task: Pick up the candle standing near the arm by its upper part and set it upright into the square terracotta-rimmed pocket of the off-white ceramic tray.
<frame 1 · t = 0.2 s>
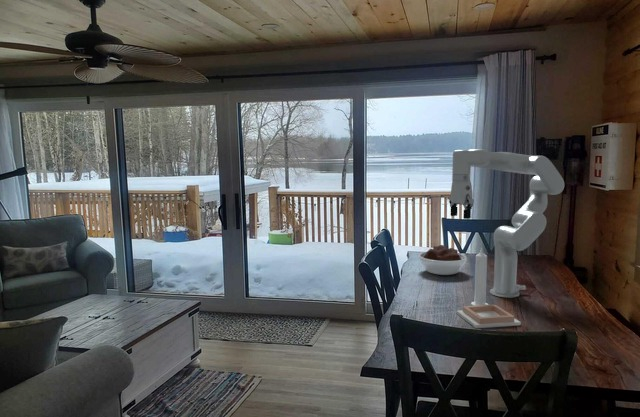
hand: (460, 217, 199), 37 cm above the table, tool pointing down, fingers open, 9 cm apart
candle: (479, 305, 193), on the table
white bowl with food: (441, 273, 246), on the table
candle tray: (487, 319, 177), on the table
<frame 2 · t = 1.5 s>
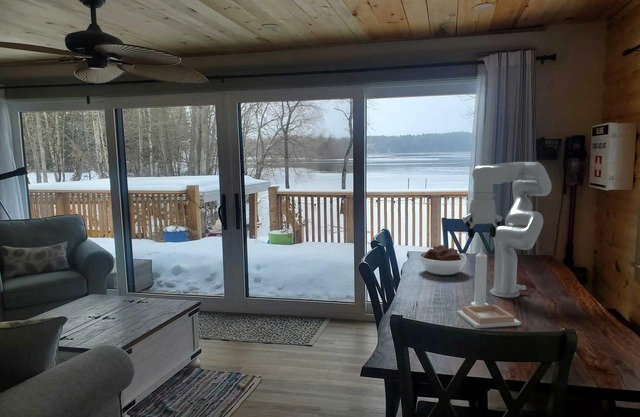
hand: (481, 237, 189), 30 cm above the table, tool pointing down, fingers open, 9 cm apart
nothing on the table moved.
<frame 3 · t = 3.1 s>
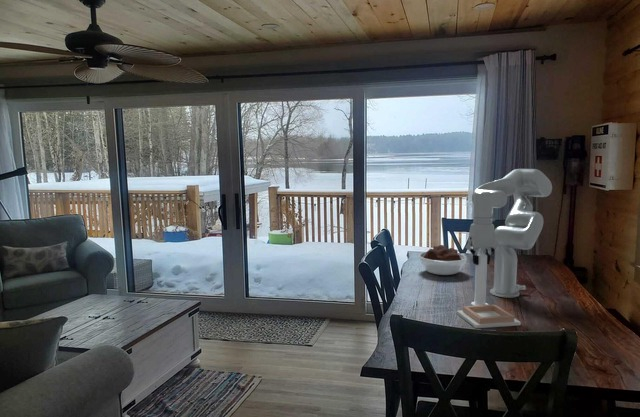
hand: (481, 263, 190), 18 cm above the table, tool pointing down, fingers closed on candle, 4 cm apart
candle: (479, 305, 193), on the table, touching gripper
everything else where it was.
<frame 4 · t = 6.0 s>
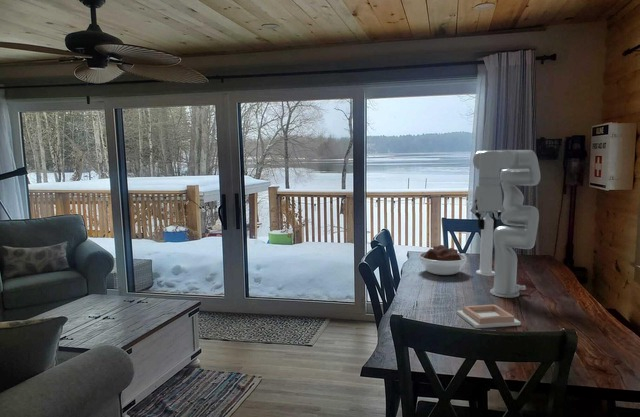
hand: (487, 228, 179), 35 cm above the table, tool pointing down, fingers closed on candle, 4 cm apart
candle: (485, 274, 181), point 16 cm above the table, touching gripper
everything else where it was.
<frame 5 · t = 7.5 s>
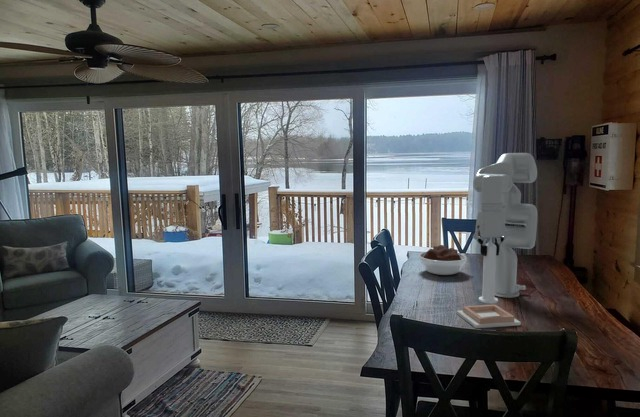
hand: (489, 254, 174), 26 cm above the table, tool pointing down, fingers closed on candle, 4 cm apart
candle: (488, 301, 176), point 7 cm above the table, touching gripper
everything else where it was.
when the fingers open (21 cm above the table, at t = 8.9 s): candle drops 1 cm, resting on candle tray.
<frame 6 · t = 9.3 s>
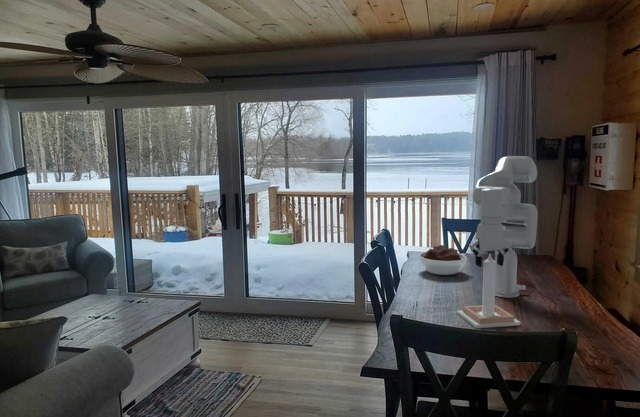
hand: (489, 265, 174), 22 cm above the table, tool pointing down, fingers open, 8 cm apart
candle: (487, 316, 177), point 1 cm above the table, touching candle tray
everything else where it was.
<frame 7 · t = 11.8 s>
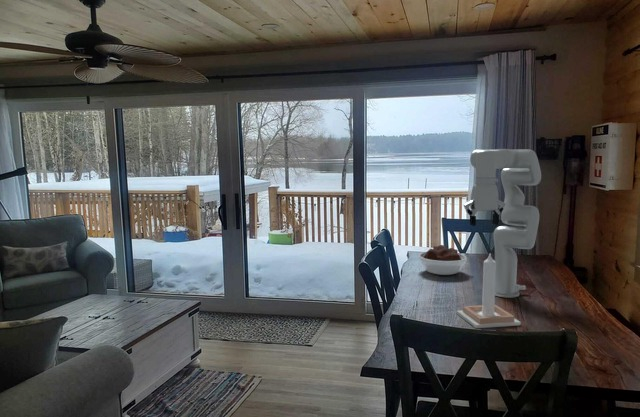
hand: (484, 224, 180), 36 cm above the table, tool pointing down, fingers open, 9 cm apart
nothing on the table moved.
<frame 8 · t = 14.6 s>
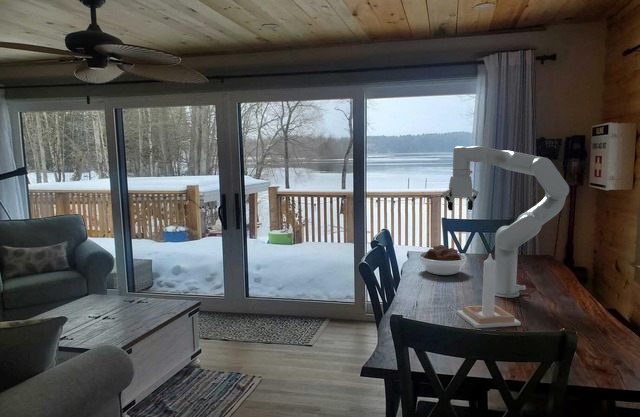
hand: (460, 210, 211), 38 cm above the table, tool pointing down, fingers open, 9 cm apart
nothing on the table moved.
at the end: candle 0.4 cm off-centre on the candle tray, point 1.0 cm above the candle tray's base; candle tilted 0°; the gripper is holding nothing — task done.
